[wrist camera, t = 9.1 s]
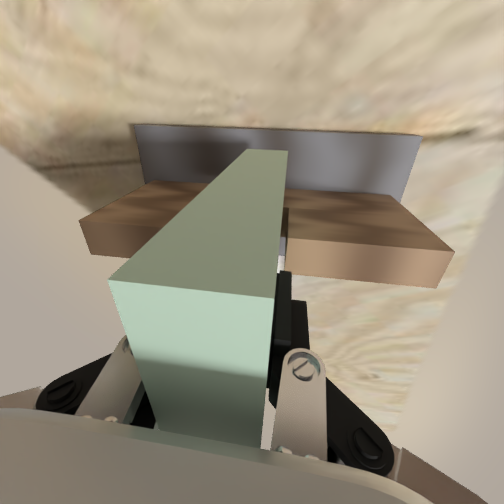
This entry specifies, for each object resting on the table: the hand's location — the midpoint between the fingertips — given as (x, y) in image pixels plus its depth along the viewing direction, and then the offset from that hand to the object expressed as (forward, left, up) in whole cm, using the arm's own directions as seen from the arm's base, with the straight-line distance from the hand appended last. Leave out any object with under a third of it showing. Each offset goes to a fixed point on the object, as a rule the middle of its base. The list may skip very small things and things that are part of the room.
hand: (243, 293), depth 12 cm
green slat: (0, 0, -10) cm, 10 cm away
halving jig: (0, 0, -15) cm, 15 cm away
